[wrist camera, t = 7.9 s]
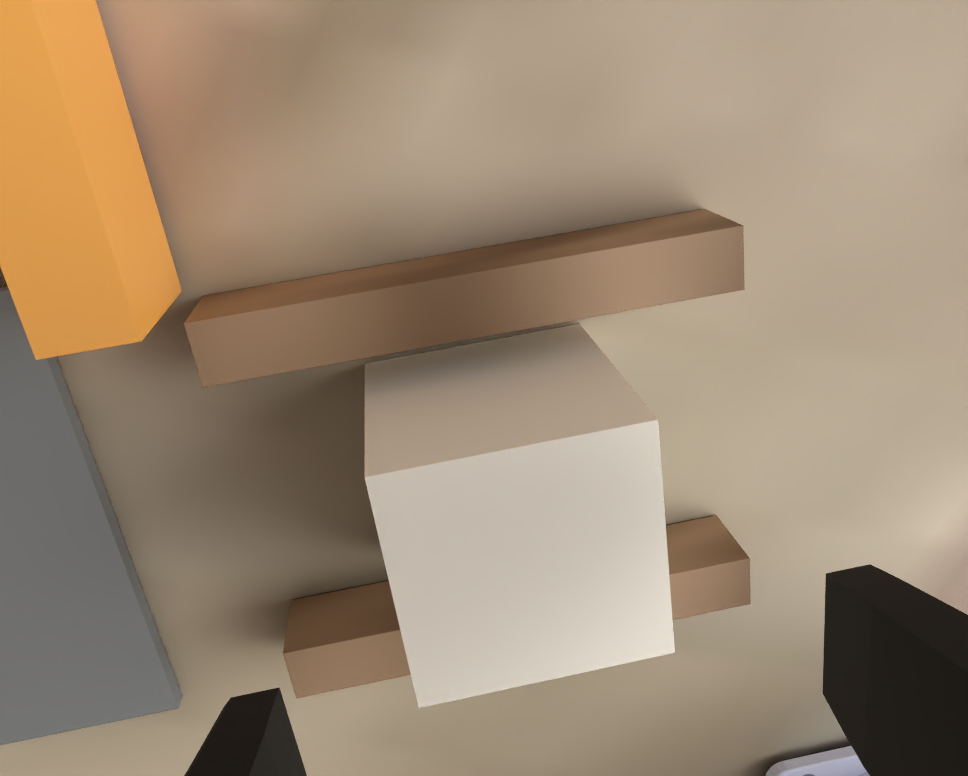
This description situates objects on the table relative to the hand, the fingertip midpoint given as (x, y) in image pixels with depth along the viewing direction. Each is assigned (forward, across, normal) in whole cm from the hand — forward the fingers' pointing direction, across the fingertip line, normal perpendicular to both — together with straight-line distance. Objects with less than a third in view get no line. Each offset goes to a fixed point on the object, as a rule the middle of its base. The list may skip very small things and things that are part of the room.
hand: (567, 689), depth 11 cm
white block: (+8, 0, 0) cm, 8 cm away
